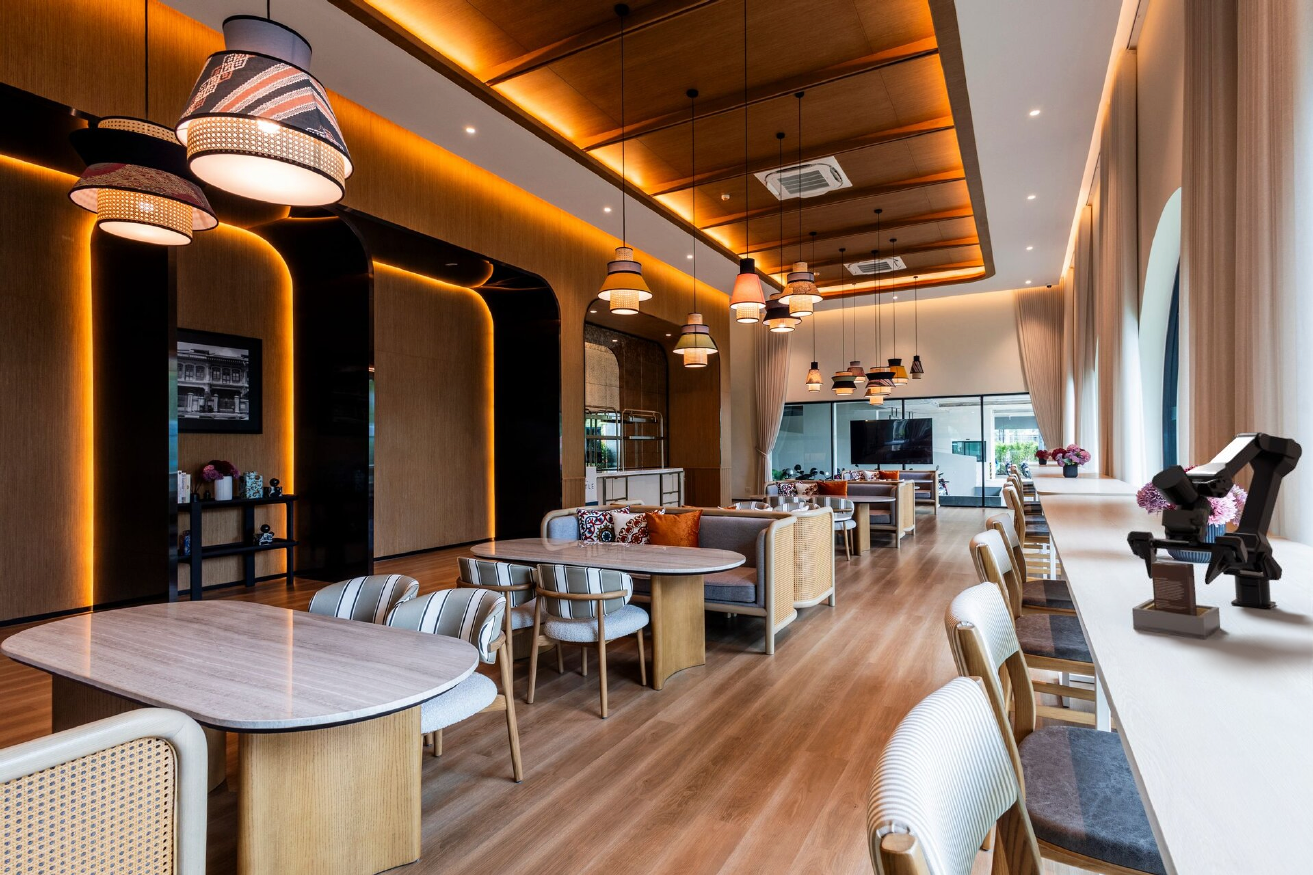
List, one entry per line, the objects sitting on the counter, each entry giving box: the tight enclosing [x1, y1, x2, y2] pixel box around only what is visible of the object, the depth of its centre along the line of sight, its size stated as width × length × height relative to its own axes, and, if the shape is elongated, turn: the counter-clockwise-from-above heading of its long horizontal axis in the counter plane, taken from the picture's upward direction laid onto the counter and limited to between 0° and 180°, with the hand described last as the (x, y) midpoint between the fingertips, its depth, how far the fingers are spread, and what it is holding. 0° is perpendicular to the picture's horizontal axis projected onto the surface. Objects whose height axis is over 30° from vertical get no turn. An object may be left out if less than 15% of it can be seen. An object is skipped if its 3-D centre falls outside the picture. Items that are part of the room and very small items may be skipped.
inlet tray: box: [1132, 598, 1221, 640], centre depth 131 cm, size 11×11×4 cm
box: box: [1151, 560, 1197, 616], centre depth 131 cm, size 6×4×12 cm
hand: (1177, 580), depth 132 cm, fingers open, 9 cm apart
